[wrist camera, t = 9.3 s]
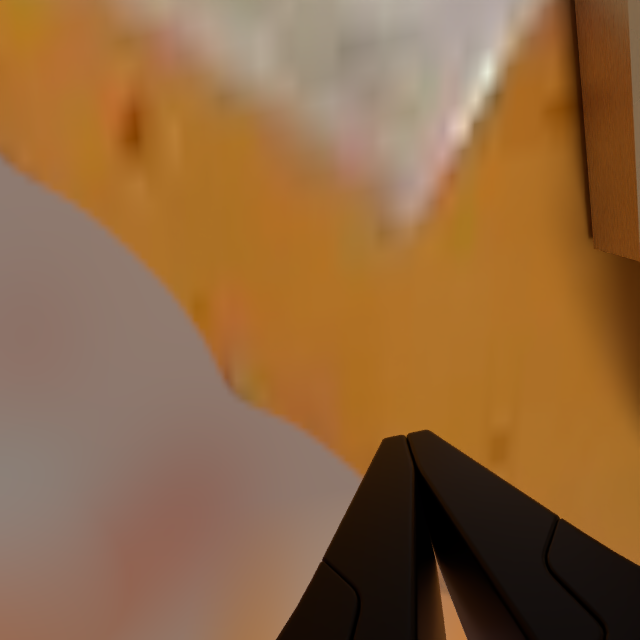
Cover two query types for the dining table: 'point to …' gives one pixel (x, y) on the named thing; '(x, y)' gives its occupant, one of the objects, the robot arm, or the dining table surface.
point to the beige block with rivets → (612, 120)
